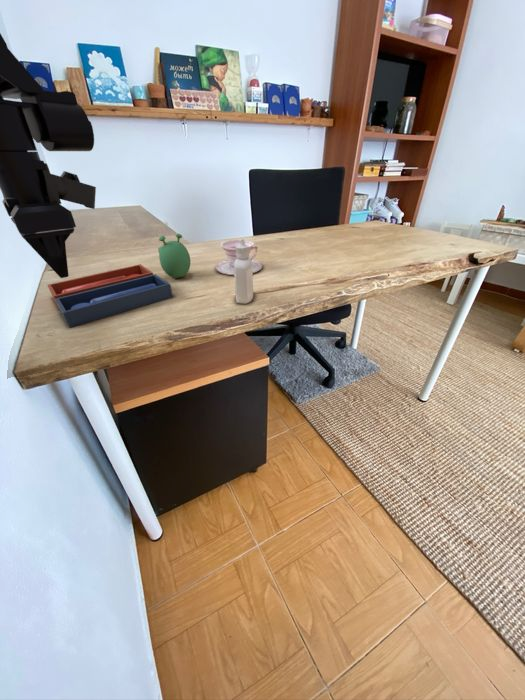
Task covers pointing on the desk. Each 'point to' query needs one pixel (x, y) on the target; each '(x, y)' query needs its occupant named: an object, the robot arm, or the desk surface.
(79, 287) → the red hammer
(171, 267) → the alien toy
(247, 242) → the teacup
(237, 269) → the eye dropper bottle
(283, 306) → the desk surface
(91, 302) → the blue spoon
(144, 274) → the far bin
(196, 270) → the desk surface
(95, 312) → the near bin
